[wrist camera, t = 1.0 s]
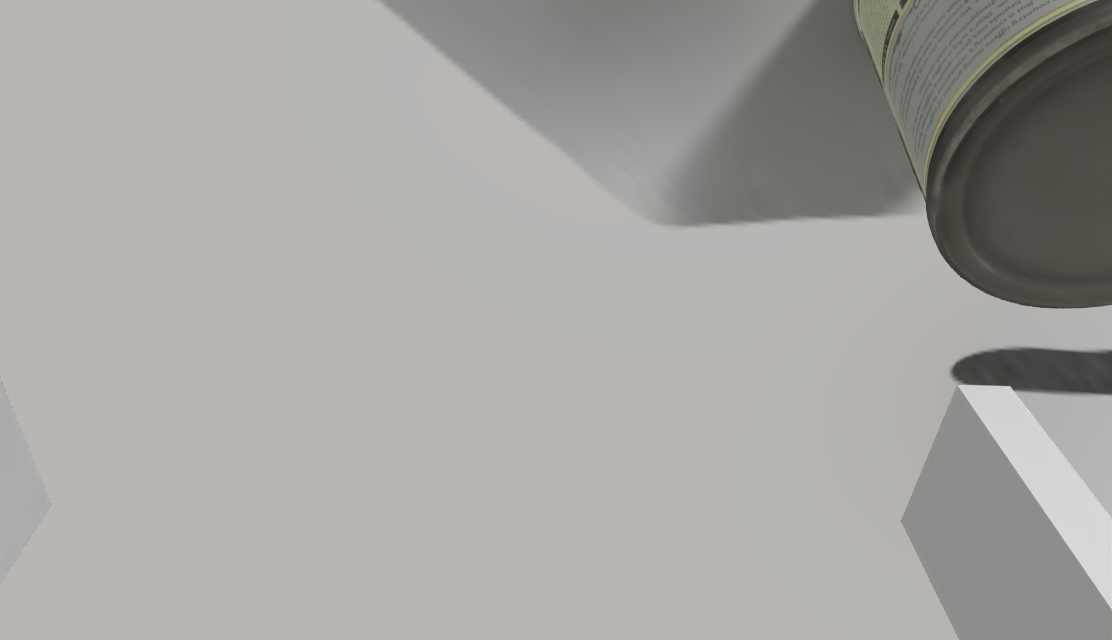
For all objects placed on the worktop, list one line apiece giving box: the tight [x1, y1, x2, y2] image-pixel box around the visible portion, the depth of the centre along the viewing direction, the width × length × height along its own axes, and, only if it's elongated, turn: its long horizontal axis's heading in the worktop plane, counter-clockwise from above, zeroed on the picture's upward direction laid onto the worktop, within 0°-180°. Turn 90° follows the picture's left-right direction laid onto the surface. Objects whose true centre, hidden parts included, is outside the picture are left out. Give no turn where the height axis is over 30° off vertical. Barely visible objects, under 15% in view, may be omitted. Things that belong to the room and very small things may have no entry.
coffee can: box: [853, 0, 1112, 308], centre depth 28 cm, size 10×10×14 cm
